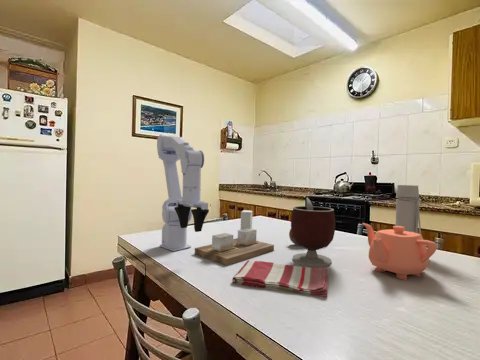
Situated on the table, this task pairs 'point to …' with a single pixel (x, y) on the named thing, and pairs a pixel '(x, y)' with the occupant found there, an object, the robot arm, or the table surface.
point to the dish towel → (283, 278)
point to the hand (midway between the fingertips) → (190, 229)
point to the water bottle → (408, 208)
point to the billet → (222, 242)
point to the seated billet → (247, 237)
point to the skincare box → (246, 219)
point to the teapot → (399, 251)
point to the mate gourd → (312, 233)
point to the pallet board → (234, 252)
